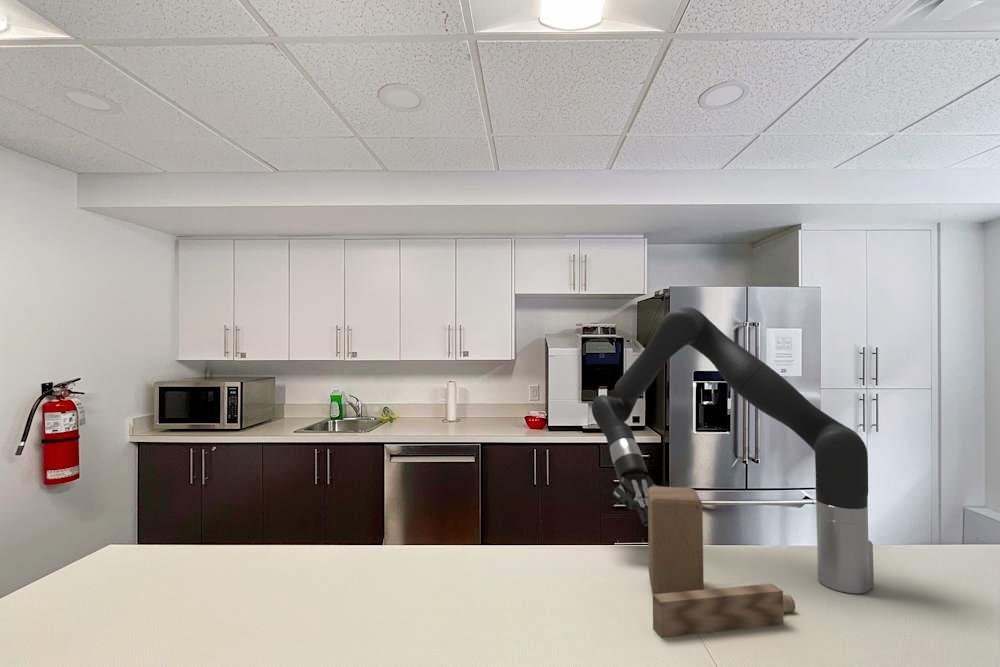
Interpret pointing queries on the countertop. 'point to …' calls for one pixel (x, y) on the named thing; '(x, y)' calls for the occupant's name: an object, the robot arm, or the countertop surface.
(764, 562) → the countertop surface
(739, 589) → the board
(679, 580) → the wooden block
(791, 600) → the roller
